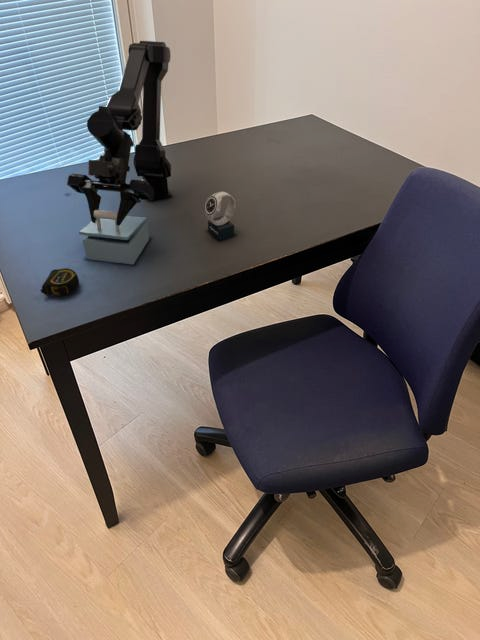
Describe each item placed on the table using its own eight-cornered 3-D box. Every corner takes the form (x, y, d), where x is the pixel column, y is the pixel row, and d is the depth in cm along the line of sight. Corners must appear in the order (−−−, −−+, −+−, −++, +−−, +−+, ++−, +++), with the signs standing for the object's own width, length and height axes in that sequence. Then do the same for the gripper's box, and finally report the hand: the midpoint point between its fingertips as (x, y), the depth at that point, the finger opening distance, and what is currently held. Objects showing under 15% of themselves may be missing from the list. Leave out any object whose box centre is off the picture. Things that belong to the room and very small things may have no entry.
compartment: (133, 264, 112) (130, 245, 108) (86, 259, 113) (82, 239, 110) (149, 239, 120) (146, 220, 117) (105, 234, 122) (102, 215, 118)
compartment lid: (127, 240, 107) (125, 218, 104) (79, 234, 108) (75, 213, 105) (146, 220, 117) (145, 200, 114) (102, 215, 118) (99, 195, 116)
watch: (201, 233, 123) (200, 193, 116) (227, 224, 126) (227, 185, 119) (213, 243, 120) (212, 203, 112) (239, 233, 123) (240, 194, 116)
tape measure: (55, 279, 107) (51, 265, 105) (85, 281, 107) (81, 267, 104) (43, 298, 102) (38, 284, 99) (74, 300, 101) (70, 286, 99)
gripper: (60, 137, 102) (48, 208, 101) (144, 145, 99) (132, 218, 98) (83, 159, 113) (73, 223, 112) (159, 166, 110) (149, 232, 109)
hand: (105, 224), depth 107 cm, fingers closed on compartment lid, 5 cm apart
